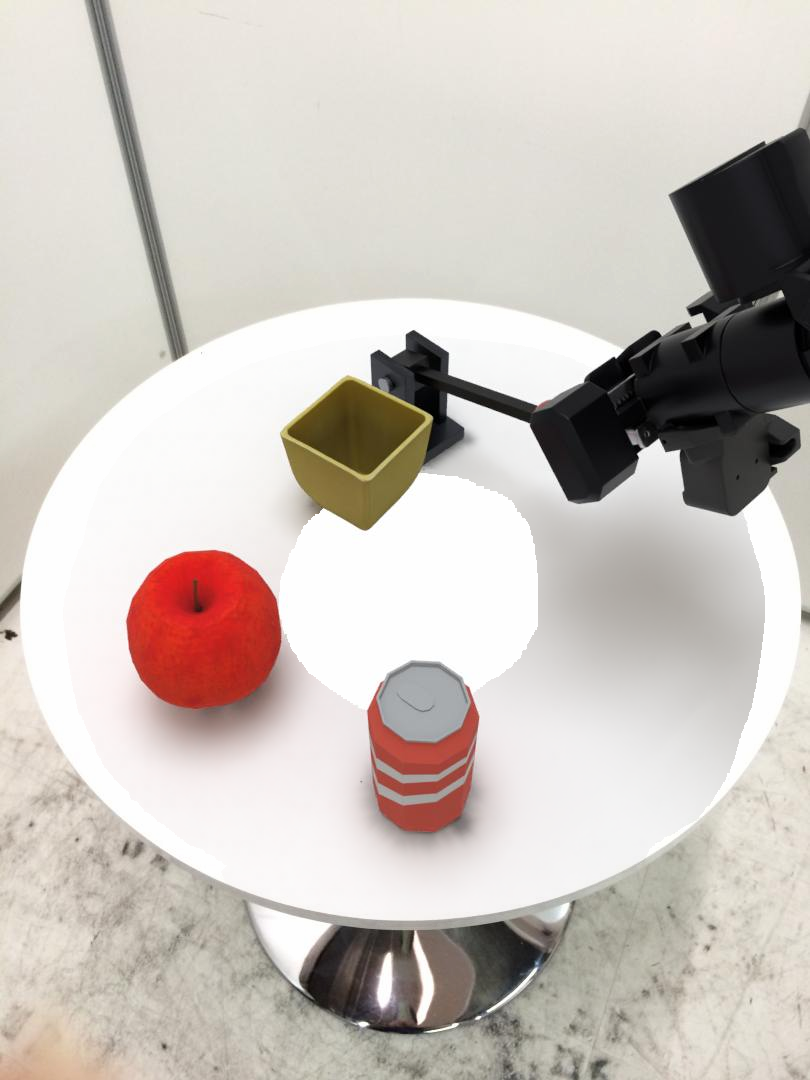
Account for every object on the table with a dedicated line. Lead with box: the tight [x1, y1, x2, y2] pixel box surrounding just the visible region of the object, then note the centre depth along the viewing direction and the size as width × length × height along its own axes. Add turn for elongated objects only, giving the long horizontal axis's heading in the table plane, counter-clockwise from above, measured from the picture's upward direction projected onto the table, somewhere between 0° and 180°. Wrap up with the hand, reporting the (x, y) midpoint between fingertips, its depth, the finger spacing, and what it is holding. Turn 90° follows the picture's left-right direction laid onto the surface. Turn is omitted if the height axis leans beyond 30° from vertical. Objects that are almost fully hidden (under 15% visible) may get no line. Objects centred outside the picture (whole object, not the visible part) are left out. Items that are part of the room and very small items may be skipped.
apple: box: [125, 549, 282, 711], centre depth 58 cm, size 10×10×12 cm
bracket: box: [369, 329, 465, 465], centre depth 76 cm, size 8×6×9 cm
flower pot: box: [279, 374, 433, 532], centre depth 70 cm, size 9×9×9 cm
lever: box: [390, 348, 553, 424], centre depth 69 cm, size 19×3×3 cm, turn 43°
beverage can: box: [366, 659, 480, 833], centre depth 53 cm, size 6×6×12 cm
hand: (571, 412), depth 61 cm, fingers closed
